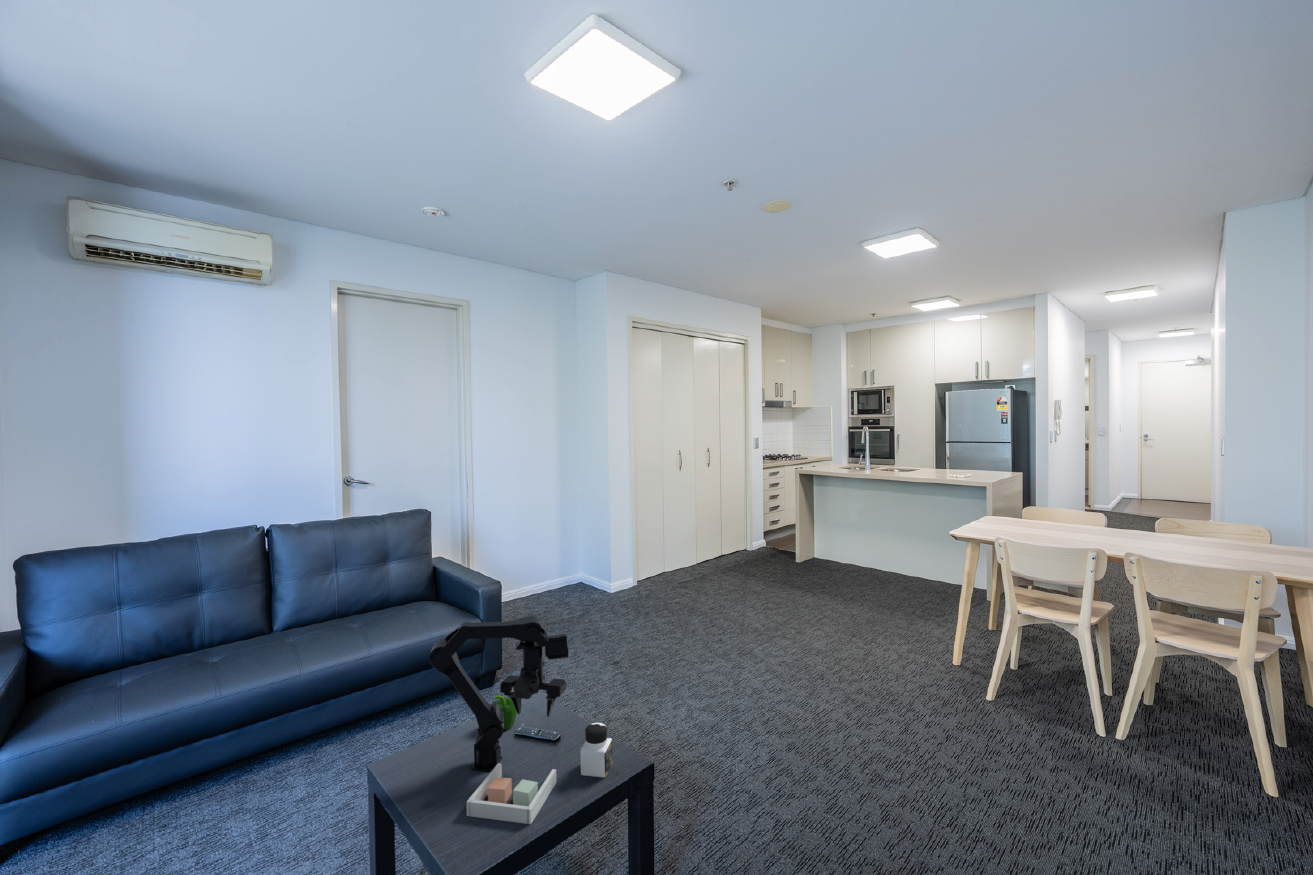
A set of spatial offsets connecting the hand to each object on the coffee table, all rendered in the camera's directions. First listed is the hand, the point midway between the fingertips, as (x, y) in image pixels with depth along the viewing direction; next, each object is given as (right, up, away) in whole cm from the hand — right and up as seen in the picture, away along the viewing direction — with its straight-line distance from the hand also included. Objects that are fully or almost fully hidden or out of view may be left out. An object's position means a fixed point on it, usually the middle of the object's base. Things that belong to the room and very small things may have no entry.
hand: (533, 714), depth 158 cm
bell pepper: (-13, -13, +17) cm, 25 cm away
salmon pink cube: (-5, -12, -18) cm, 23 cm away
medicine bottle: (+19, -12, -7) cm, 24 cm away
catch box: (-1, -12, -19) cm, 22 cm away
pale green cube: (+2, -12, -20) cm, 23 cm away
